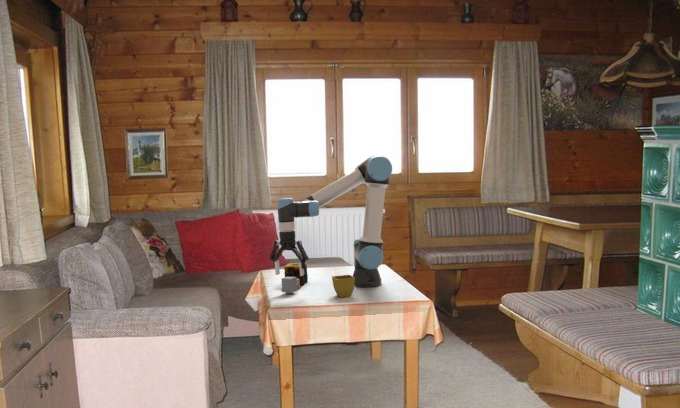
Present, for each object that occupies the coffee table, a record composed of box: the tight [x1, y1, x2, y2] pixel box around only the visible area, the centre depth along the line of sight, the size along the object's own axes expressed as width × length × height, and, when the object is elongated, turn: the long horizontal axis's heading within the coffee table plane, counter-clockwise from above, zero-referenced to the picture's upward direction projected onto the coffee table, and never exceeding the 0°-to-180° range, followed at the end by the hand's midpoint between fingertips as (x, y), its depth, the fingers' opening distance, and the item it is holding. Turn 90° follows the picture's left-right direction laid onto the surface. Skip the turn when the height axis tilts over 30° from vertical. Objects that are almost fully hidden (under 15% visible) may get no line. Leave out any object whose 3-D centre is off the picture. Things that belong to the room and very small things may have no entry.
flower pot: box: [331, 274, 355, 298], centre depth 295 cm, size 9×9×9 cm
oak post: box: [297, 279, 301, 291], centre depth 313 cm, size 3×3×5 cm
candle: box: [283, 262, 309, 287], centre depth 327 cm, size 10×10×10 cm
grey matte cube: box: [281, 276, 298, 294], centre depth 303 cm, size 5×5×7 cm
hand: (289, 275), depth 303 cm, fingers open, 13 cm apart
